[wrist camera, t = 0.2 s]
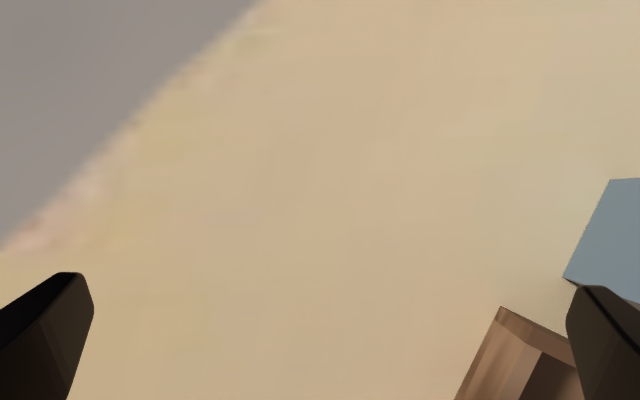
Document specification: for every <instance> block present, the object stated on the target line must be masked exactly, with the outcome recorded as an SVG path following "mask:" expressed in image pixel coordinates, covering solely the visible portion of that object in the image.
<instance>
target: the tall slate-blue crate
mask: <svg viewBox="0 0 640 400" xmlns="http://www.w3.org/2000/svg"><path fill="white" fill-rule="evenodd" d="M562 277H563V278H565V279H567V280H570V281H572V282H574V283H576V284H578V285H580V286H581V285H602V286H605V287H607V288H609V289H610V290H611V291H613V292H614V293H616V294H617V295H618V296H620V297H621V298H623V299H624V300H625V301H627V302H628V303H630V304H631V305H632V306H634V307H635V308H637V309H638V310H640V178H629V179H614V180H610V181H609V183H608V185H607V187H606V189H605V191H604V193H603V195H602V197H601V199H600V201H599V203H598V205H597V207H596V209H595V211H594V213H593V215H592V217H591V219H590V222H589V224H588V226H587V228H586V230H585V232H584V234H583V236H582V238H581V240H580V242H579V244H578V246H577V248H576V250H575V252H574V254H573V256H572V258H571V260H570V262H569V264H568V266H567V268H566V270H565V272H564V274H563V276H562Z"/></svg>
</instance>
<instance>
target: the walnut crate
mask: <svg viewBox="0 0 640 400" xmlns="http://www.w3.org/2000/svg"><path fill="white" fill-rule="evenodd" d="M454 400H585V399H584V396H583V392H582V388H581V384H580V380H579V377H578V373H577V369H576V365H575V362H574V358H573V354H572V350H571V346H570V343H569V339H567V338H565V337H563V336H561V335H559V334H557V333H555V332H553V331H551V330H549V329H547V328H545V327H543V326H541V325H539V324H537V323H535V322H533V321H531V320H529V319H527V318H524V317H522V316H520V315H518V314H516V313H514V312H512V311H510V310H508V309H506V308H504V307H502V306H500V308H499V310H498V312H497V314H496V316H495V318H494V320H493V322H492V324H491V326H490V328H489V330H488V332H487V334H486V336H485V338H484V340H483V342H482V344H481V346H480V348H479V350H478V352H477V354H476V356H475V358H474V360H473V362H472V364H471V367H470V369H469V371H468V373H467V375H466V377H465V379H464V381H463V383H462V385H461V387H460V389H459V391H458V393H457V395H456V397H455V399H454Z"/></svg>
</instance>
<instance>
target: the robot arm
mask: <svg viewBox="0 0 640 400" xmlns="http://www.w3.org/2000/svg"><path fill="white" fill-rule="evenodd" d="M93 315H94V304H93V301H92V298H91V295H90V292H89V289H88V286H87V283H86V280H85V277H84V276H83V275H82V274H81V273H78V272H59V273H56V274H55V275H53V276H51V277H50V278H48V279H47V280H45V281H44V282H42V283H41V284H39V285H37V286H36V287H34V288H33V289H31V290H30V291H28V292H27V293H25V294H24V295H22V296H20V297H19V298H17V299H16V300H14V301H13V302H11V303H10V304H8V305H7V306H5V307H3V308H2V309H0V400H66V399H67V396H68V394H69V391H70V388H71V386H72V383H73V380H74V377H75V373H76V370H77V367H78V364H79V361H80V357H81V354H82V351H83V348H84V345H85V342H86V338H87V335H88V332H89V329H90V326H91V323H92V319H93ZM566 331H567V335H568V339H569V343H570V346H571V350H572V354H573V358H574V362H575V365H576V369H577V373H578V377H579V380H580V384H581V388H582V392H583V396H584V399H585V400H640V310H638V309H637V308H635V307H634V306H632V305H631V304H630V303H628V302H627V301H625V300H624V299H623V298H621V297H620V296H618V295H617V294H616V293H614V292H613V291H611V290H610V289H609V288H607V287H605V286H602V285H581V286H579V287H578V288H577V290H576V292H575V294H574V297H573V300H572V302H571V305H570V308H569V310H568V313H567V316H566Z"/></svg>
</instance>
